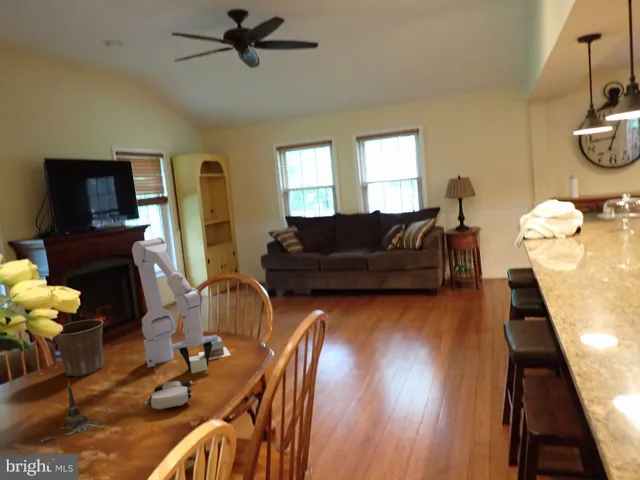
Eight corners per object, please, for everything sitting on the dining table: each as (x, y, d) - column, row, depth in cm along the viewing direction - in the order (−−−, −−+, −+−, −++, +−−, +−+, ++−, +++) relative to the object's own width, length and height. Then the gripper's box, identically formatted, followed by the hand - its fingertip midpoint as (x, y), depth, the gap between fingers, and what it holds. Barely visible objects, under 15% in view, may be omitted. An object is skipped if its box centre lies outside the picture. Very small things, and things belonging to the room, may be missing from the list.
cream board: (202, 363, 160) (202, 361, 160) (198, 354, 169) (198, 352, 169) (231, 357, 163) (230, 354, 163) (225, 348, 173) (225, 346, 173)
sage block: (192, 375, 150) (190, 362, 150) (190, 370, 155) (188, 357, 154) (207, 371, 152) (206, 358, 152) (205, 366, 157) (203, 354, 156)
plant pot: (115, 368, 163) (108, 324, 161) (63, 384, 154) (55, 337, 152) (104, 357, 176) (97, 316, 174) (56, 371, 167) (48, 328, 165)
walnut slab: (207, 358, 162) (206, 351, 162) (204, 353, 168) (203, 346, 167) (224, 354, 164) (223, 347, 164) (221, 349, 170) (220, 342, 170)
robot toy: (153, 397, 139) (146, 417, 124) (151, 383, 139) (144, 401, 124) (195, 389, 142) (193, 408, 127) (193, 375, 142) (191, 392, 127)
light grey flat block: (206, 351, 162) (205, 344, 162) (203, 346, 167) (202, 339, 167) (223, 347, 164) (222, 340, 164) (220, 342, 170) (219, 336, 169)
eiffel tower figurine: (39, 445, 117) (30, 394, 115) (47, 426, 126) (38, 380, 125) (104, 428, 122) (96, 380, 120) (107, 412, 132) (99, 367, 130)
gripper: (170, 335, 145) (176, 376, 147) (217, 325, 151) (222, 365, 152) (169, 329, 152) (174, 369, 153) (213, 320, 157) (218, 359, 159)
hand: (198, 367), depth 153 cm, fingers closed on sage block, 5 cm apart
